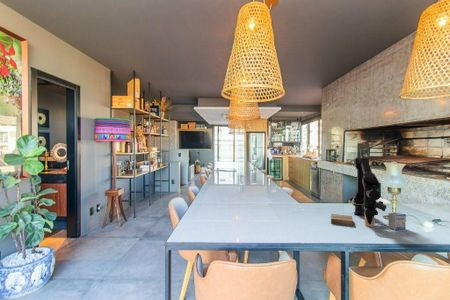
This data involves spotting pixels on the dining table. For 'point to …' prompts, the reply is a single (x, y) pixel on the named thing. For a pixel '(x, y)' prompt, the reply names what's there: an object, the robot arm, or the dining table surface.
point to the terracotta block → (368, 223)
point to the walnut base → (341, 219)
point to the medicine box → (397, 221)
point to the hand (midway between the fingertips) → (369, 222)
